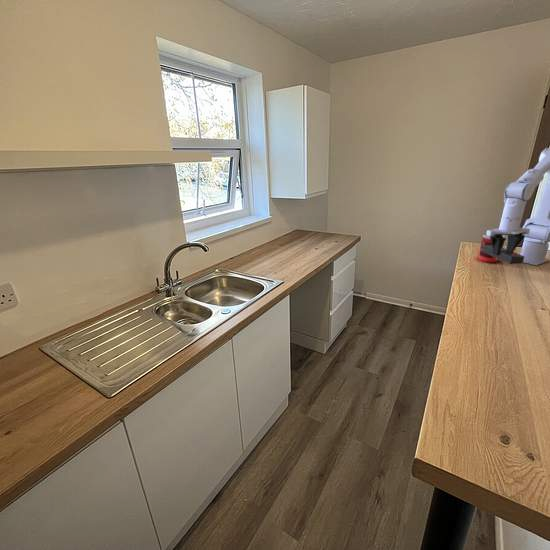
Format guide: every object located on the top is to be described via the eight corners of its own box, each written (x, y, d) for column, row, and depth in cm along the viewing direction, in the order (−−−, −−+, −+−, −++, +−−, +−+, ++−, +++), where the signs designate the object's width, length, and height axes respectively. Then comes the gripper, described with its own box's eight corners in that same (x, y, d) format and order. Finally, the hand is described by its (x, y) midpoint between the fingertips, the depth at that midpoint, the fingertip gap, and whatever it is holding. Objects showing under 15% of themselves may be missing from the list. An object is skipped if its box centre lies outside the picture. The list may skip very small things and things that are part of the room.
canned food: (497, 258, 131) (503, 233, 126) (500, 264, 124) (507, 238, 120) (476, 256, 134) (481, 232, 129) (479, 262, 127) (484, 237, 123)
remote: (482, 251, 119) (483, 245, 118) (493, 251, 119) (495, 244, 118) (510, 264, 106) (512, 256, 105) (522, 263, 106) (524, 255, 105)
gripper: (500, 221, 103) (491, 258, 108) (541, 218, 103) (529, 255, 108) (485, 216, 109) (477, 252, 114) (524, 214, 110) (514, 249, 115)
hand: (502, 253), depth 112 cm, fingers closed on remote, 4 cm apart
